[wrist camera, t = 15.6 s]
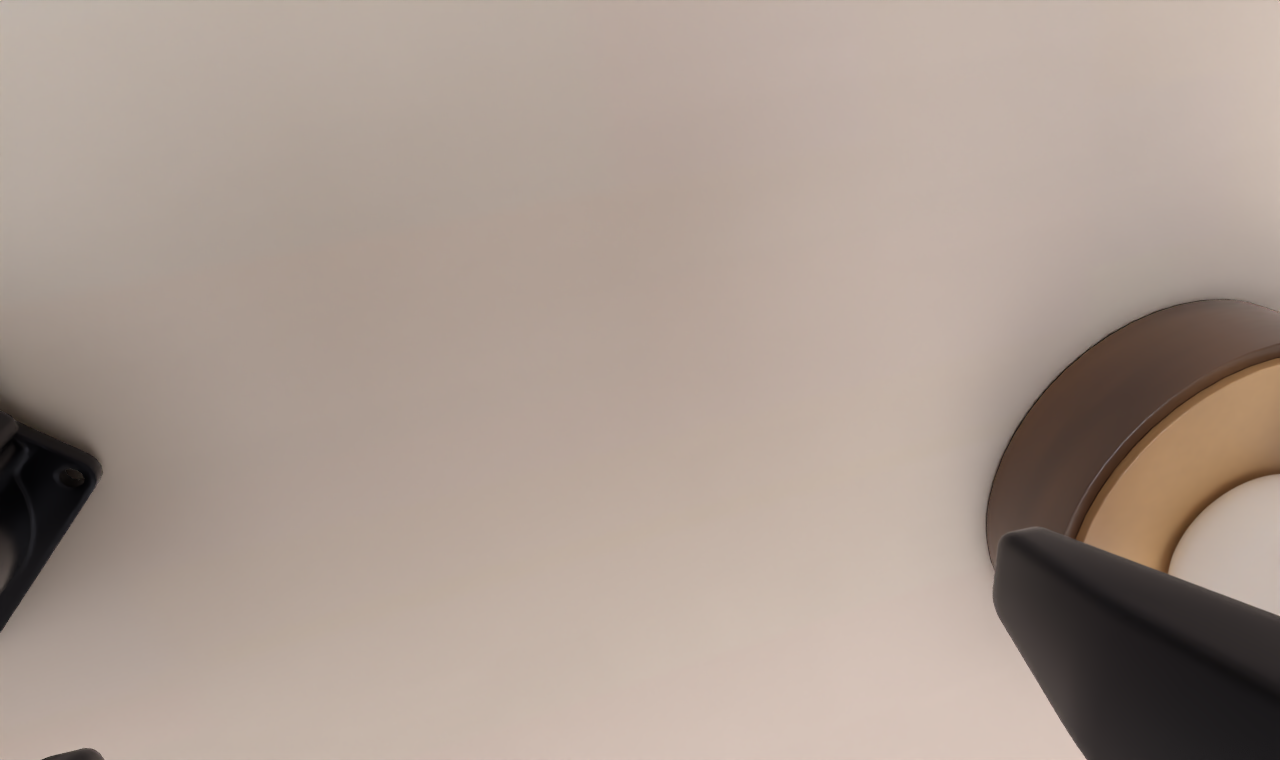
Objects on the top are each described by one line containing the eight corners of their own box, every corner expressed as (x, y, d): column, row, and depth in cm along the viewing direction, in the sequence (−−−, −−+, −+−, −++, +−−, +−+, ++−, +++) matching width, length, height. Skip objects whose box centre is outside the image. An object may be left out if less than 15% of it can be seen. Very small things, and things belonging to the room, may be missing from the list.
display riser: (945, 634, 28) (1008, 714, 25) (1052, 291, 24) (1146, 336, 20) (1233, 615, 31) (1321, 684, 28) (1380, 305, 26) (1506, 347, 23)
